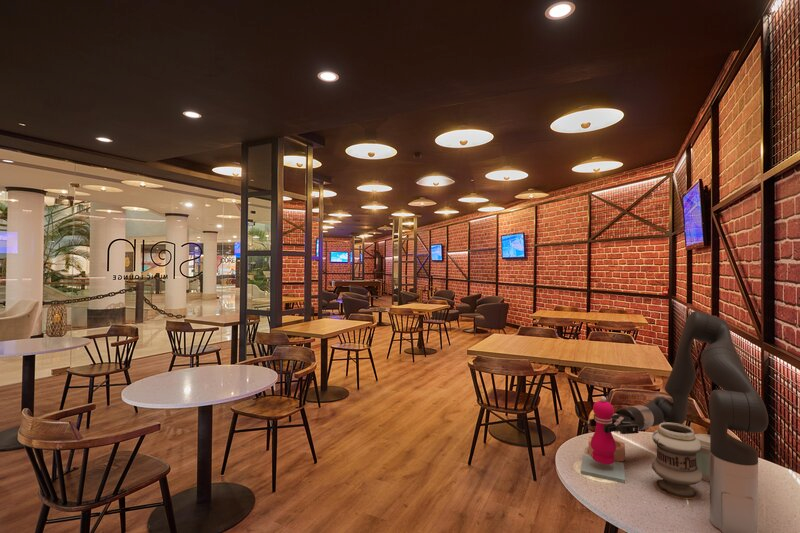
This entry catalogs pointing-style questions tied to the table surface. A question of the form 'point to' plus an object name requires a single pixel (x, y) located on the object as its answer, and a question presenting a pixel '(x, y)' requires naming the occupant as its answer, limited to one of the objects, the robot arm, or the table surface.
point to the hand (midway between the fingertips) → (597, 426)
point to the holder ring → (618, 454)
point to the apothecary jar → (676, 460)
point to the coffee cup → (704, 456)
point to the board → (603, 469)
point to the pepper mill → (603, 433)
